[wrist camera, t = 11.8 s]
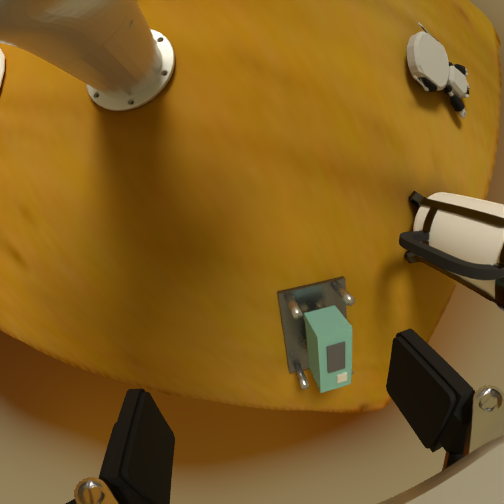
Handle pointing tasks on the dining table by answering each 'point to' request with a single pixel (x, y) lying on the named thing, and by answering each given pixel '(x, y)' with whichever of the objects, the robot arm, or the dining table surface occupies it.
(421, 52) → the robot toy
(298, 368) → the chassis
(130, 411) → the robot arm
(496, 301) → the coffee press
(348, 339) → the teal block
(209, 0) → the dining table surface
